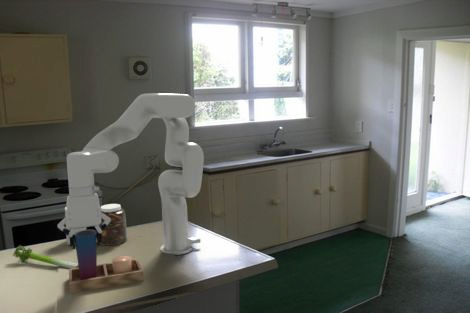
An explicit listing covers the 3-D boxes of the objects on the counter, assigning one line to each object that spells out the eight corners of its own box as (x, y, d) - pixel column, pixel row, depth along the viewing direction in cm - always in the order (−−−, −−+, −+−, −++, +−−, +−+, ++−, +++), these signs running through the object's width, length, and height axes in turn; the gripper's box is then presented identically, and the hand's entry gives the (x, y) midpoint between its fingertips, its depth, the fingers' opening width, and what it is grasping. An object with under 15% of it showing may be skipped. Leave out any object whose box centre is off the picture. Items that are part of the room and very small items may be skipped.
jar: (133, 240, 183) (130, 205, 181) (108, 247, 174) (106, 211, 172) (116, 234, 191) (114, 201, 189) (92, 242, 182) (90, 207, 180)
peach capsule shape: (130, 271, 148) (129, 254, 147) (133, 278, 142) (132, 260, 141) (112, 274, 146) (111, 257, 145) (114, 281, 140) (113, 263, 139)
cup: (92, 283, 136) (89, 236, 134) (73, 281, 137) (69, 235, 135) (103, 274, 143) (100, 230, 141) (84, 273, 144) (81, 229, 142)
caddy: (137, 269, 152) (137, 258, 151) (143, 282, 140) (142, 271, 140) (70, 280, 144) (69, 268, 143) (70, 295, 133) (69, 283, 132)
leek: (71, 279, 150) (7, 262, 161) (85, 274, 156) (23, 257, 167) (73, 262, 150) (9, 245, 161) (87, 257, 156) (24, 242, 167)
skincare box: (67, 245, 179) (64, 210, 177) (66, 240, 185) (63, 206, 182) (88, 242, 182) (85, 207, 180) (87, 237, 188) (84, 204, 186)
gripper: (109, 186, 143) (113, 238, 145) (52, 191, 136) (57, 246, 139) (111, 190, 136) (115, 245, 138) (51, 196, 130) (56, 254, 132)
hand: (86, 245), depth 139 cm, fingers closed on cup, 6 cm apart
